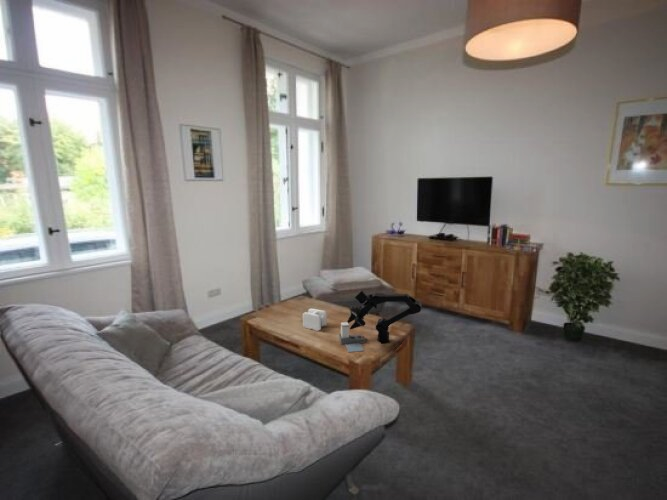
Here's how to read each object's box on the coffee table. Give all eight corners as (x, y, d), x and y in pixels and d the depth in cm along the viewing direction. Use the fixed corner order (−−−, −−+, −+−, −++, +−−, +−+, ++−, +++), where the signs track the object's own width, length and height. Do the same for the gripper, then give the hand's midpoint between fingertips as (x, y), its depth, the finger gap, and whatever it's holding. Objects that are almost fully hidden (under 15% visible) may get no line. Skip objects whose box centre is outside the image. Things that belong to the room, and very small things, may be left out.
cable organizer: (301, 327, 248) (301, 312, 246) (310, 322, 257) (309, 307, 255) (319, 332, 241) (319, 316, 239) (327, 326, 250) (327, 310, 248)
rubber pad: (360, 343, 224) (360, 343, 224) (363, 350, 215) (363, 350, 215) (345, 344, 222) (345, 344, 222) (348, 352, 213) (348, 351, 213)
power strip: (363, 337, 232) (363, 332, 231) (365, 342, 226) (365, 336, 225) (339, 339, 229) (339, 334, 228) (341, 344, 223) (341, 338, 222)
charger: (347, 336, 229) (347, 322, 226) (349, 339, 224) (349, 324, 222) (341, 336, 228) (340, 322, 226) (342, 340, 224) (342, 325, 222)
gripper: (353, 295, 231) (337, 312, 232) (360, 306, 213) (342, 324, 214) (365, 306, 234) (349, 322, 235) (372, 317, 216) (355, 335, 217)
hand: (348, 325), depth 225 cm, fingers open, 9 cm apart
